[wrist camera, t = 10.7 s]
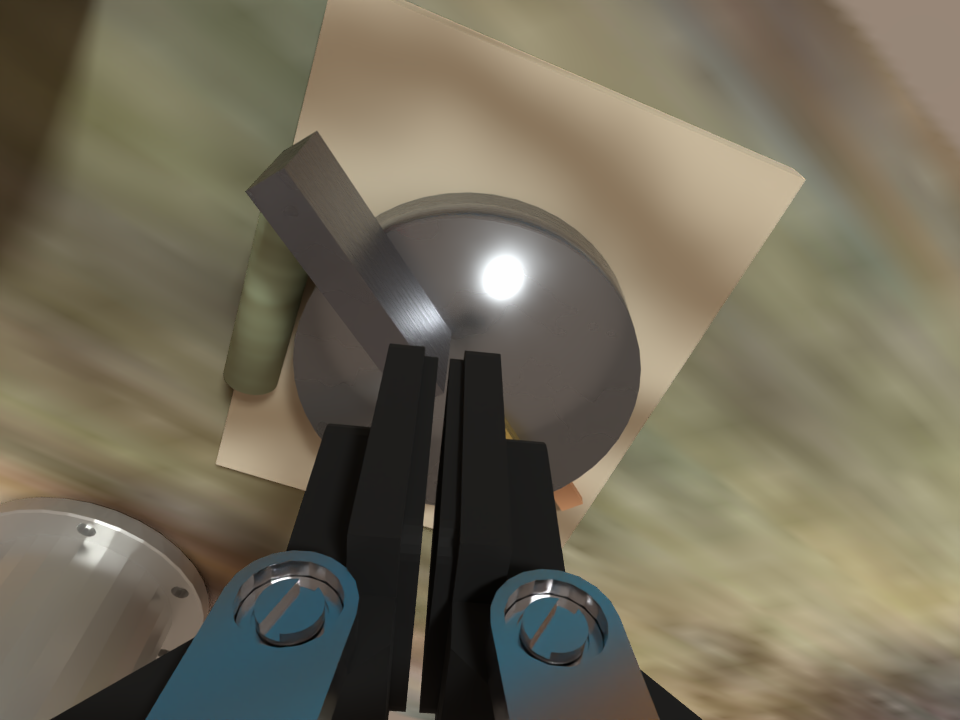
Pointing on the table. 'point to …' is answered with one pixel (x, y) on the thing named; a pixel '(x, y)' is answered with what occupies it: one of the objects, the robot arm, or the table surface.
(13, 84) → the table surface
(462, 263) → the disc
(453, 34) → the stand
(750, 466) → the table surface
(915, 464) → the table surface
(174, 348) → the table surface
